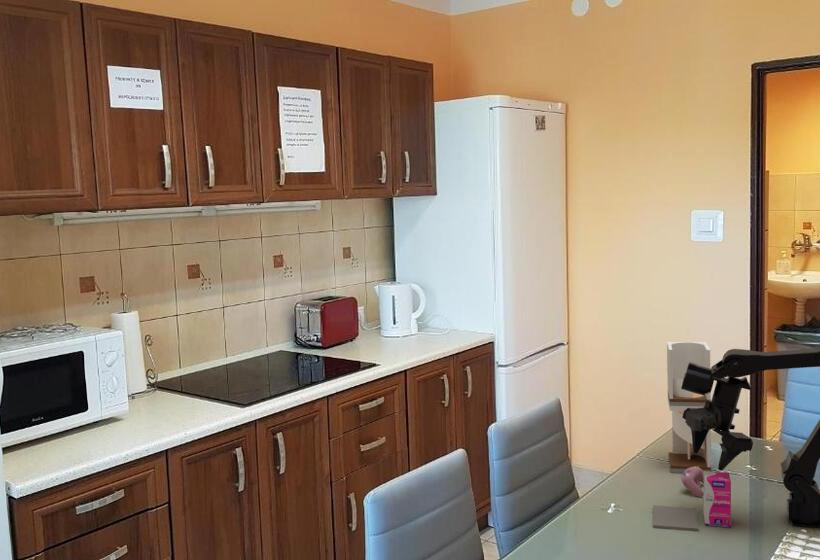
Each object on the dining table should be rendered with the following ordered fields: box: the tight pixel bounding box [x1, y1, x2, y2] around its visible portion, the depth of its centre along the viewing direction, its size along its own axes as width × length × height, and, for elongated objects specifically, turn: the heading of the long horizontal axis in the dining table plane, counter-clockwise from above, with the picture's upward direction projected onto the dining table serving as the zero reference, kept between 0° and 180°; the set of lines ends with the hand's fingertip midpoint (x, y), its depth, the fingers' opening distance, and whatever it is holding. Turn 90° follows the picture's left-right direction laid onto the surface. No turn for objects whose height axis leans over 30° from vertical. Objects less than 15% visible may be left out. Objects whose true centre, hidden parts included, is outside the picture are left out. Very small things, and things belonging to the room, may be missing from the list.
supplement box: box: [703, 471, 732, 528], centre depth 182 cm, size 6×6×12 cm
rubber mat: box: [652, 505, 699, 532], centre depth 185 cm, size 10×12×1 cm
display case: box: [666, 341, 712, 474], centre depth 218 cm, size 11×11×35 cm
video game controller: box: [680, 466, 704, 498], centre depth 202 cm, size 10×5×7 cm, turn 141°
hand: (707, 461), depth 187 cm, fingers open, 9 cm apart
